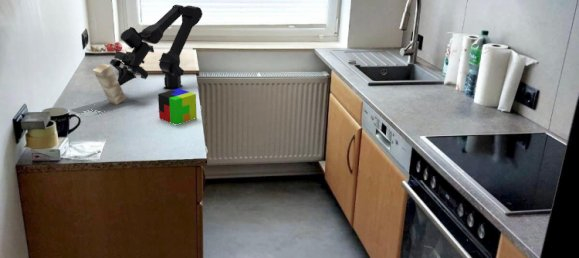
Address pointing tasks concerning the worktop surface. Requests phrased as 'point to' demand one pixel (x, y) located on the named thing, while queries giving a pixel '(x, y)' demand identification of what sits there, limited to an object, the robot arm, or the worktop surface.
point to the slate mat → (104, 106)
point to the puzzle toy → (177, 106)
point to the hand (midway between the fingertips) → (117, 85)
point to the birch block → (109, 83)
